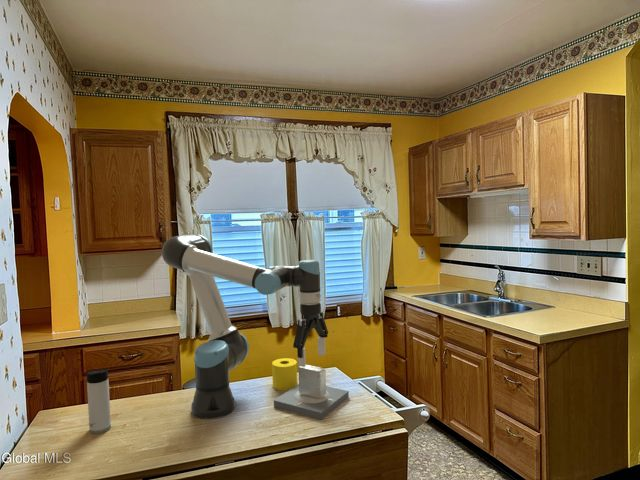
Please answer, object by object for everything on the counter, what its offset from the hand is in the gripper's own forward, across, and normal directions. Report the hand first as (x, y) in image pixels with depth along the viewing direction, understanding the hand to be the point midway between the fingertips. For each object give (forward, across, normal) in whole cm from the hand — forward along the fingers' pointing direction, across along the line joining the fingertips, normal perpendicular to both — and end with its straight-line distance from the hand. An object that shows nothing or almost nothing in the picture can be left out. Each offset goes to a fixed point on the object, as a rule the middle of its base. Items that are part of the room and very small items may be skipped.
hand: (312, 360), depth 158 cm
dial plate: (+16, 0, 0) cm, 16 cm away
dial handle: (+13, 0, 0) cm, 13 cm away
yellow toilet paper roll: (+16, +8, +18) cm, 26 cm away
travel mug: (+15, -51, +50) cm, 74 cm away
